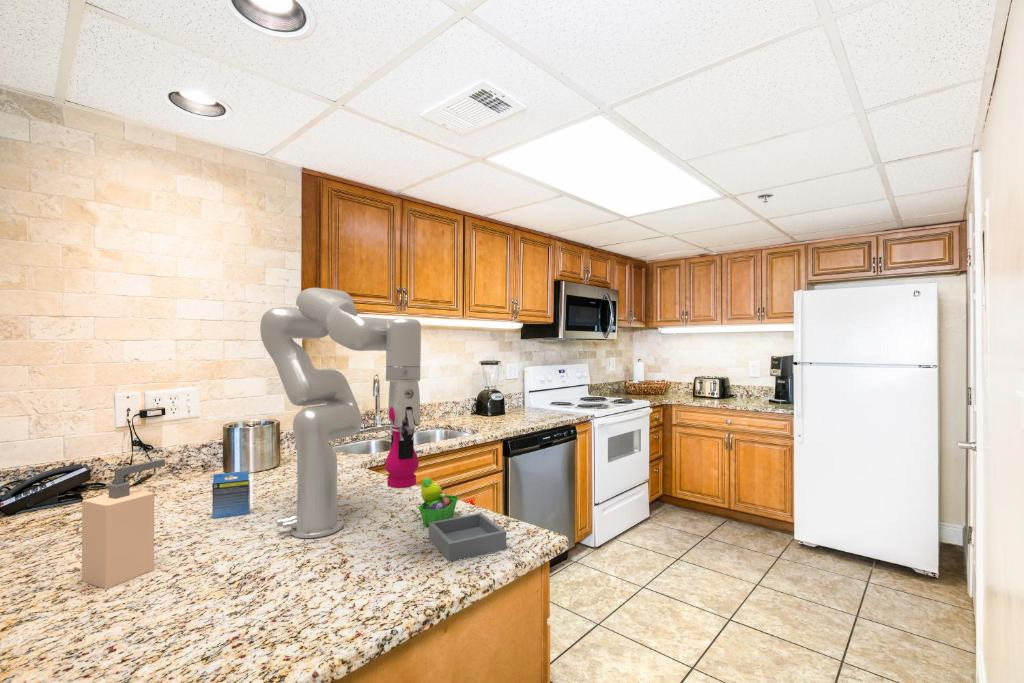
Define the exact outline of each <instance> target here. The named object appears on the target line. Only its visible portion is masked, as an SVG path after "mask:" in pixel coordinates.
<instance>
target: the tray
mask: <svg viewBox="0 0 1024 683" xmlns="http://www.w3.org/2000/svg"><path fill="white" fill-rule="evenodd" d="M428 541H430V543H431V542H432V543H433V544H434V545H435V546H436V547H437V548H436V547H435V546H434V545H433V544H432V543H431V544H432V545H433V546H434V547H435V548H436V550H438V552H439V551H440V552H441V553H442V554H443V555H444V556H443V555H442V554H441V553H440V552H439V553H440V554H441V555H442V556H443V557H444V558H445V559H446V560H448V561H449V562H448V563H451V562H450V561H454V562H456V561H455V560H458V561H460V560H459V559H462V560H465V559H464V558H466V559H469V558H468V557H470V558H474V557H473V556H475V557H479V556H482V555H481V554H483V555H486V553H487V554H491V553H495V552H494V551H496V552H499V550H500V551H503V549H504V550H507V531H506V530H505V529H504V528H502V527H501V526H500V525H498V524H497V523H496V522H494V521H493V520H492V519H490V518H489V517H488V516H487V515H485V514H483V513H482V512H478V513H473V514H467V515H463V516H462V515H461V516H456V517H451V518H450V519H445V520H440V521H435V522H430V523H429V526H428ZM478 555H479V556H478Z"/></svg>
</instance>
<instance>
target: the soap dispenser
mask: <svg viewBox="0 0 1024 683" xmlns="http://www.w3.org/2000/svg"><path fill="white" fill-rule="evenodd" d="M165 466H166V459H164V458H160V459H155V460H151V461H150V460H149V461H145V462H141V463H135V464H132V465H131V464H130V465H126V466H122V467H118V468H114V482H113V483H110V484H108V493H105V494H102V495H98V496H94V497H89V498H86V499H82V502H81V507H82V508H81V510H82V511H81V582H82V583H83V582H84V583H86V584H90V585H93V586H96V587H99V588H101V589H103V590H104V589H105V590H108V589H111V588H113V587H115V586H118V585H120V584H123V583H126V582H127V581H130V580H133V579H135V578H138V577H141V576H142V575H144V574H148V573H150V572H153V571H154V570H155V492H151V491H145V490H142V489H141V490H140V489H135V488H130V482H126V481H125V476H127V475H132V474H136V473H141V472H145V471H149V470H154V469H158V468H159V469H160V468H163V467H165Z"/></svg>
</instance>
